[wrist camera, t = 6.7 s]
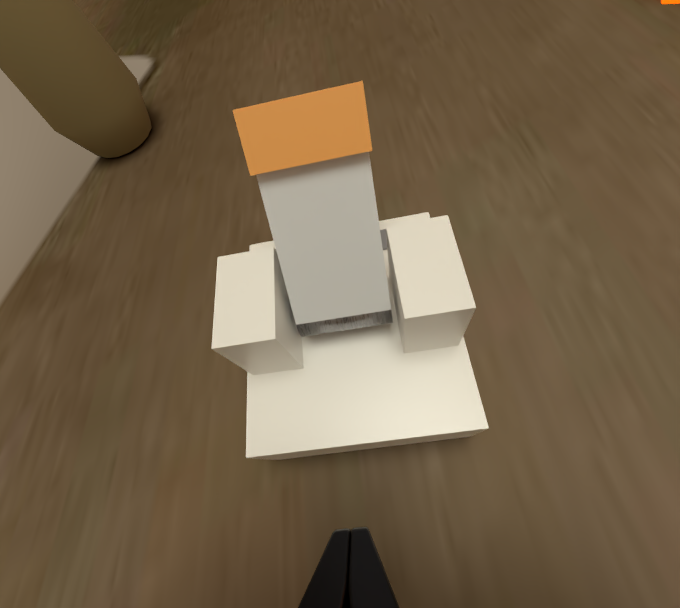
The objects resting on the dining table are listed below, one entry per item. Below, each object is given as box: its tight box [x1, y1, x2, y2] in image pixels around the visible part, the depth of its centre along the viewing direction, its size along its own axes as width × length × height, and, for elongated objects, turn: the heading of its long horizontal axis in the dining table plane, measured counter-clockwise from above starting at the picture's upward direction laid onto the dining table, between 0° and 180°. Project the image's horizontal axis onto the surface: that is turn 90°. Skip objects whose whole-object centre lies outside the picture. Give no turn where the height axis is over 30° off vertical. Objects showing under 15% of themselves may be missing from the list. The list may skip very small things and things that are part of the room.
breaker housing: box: [212, 212, 489, 460], centre depth 17 cm, size 11×10×8 cm
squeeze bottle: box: [0, 0, 151, 158], centre depth 25 cm, size 8×8×18 cm
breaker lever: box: [233, 81, 393, 337], centre depth 14 cm, size 3×4×9 cm
